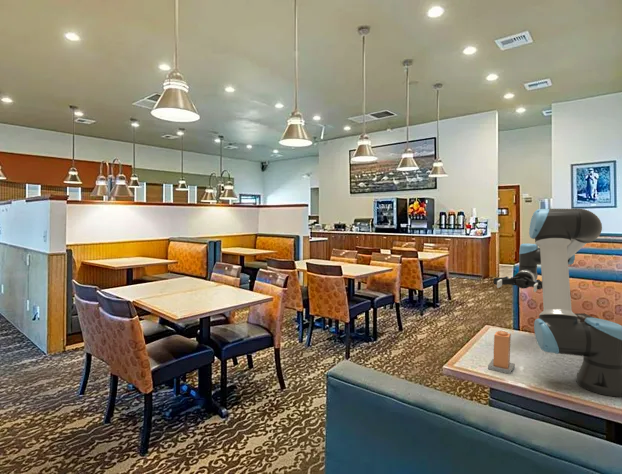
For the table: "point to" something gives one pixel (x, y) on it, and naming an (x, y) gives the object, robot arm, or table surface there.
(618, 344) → the robot arm
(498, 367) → the junction plate
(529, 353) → the table surface
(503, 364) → the orange capped block
